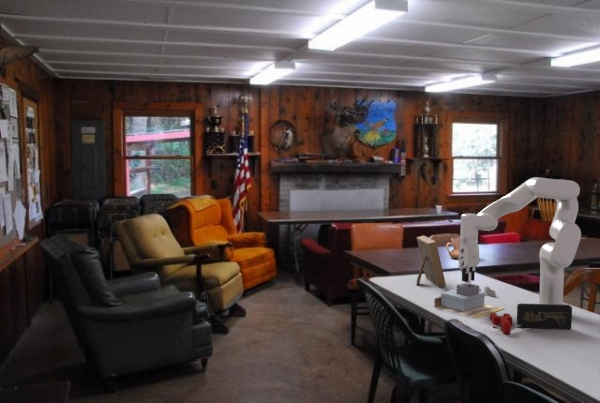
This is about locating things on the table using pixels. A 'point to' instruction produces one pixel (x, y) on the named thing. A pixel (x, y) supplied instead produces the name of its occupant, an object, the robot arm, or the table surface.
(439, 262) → the photo frame
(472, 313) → the bay
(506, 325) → the red block assembly
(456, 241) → the ceramic jug
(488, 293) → the pulley system
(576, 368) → the table surface
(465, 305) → the square socket plate
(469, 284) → the handle peg
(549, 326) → the nameplate
